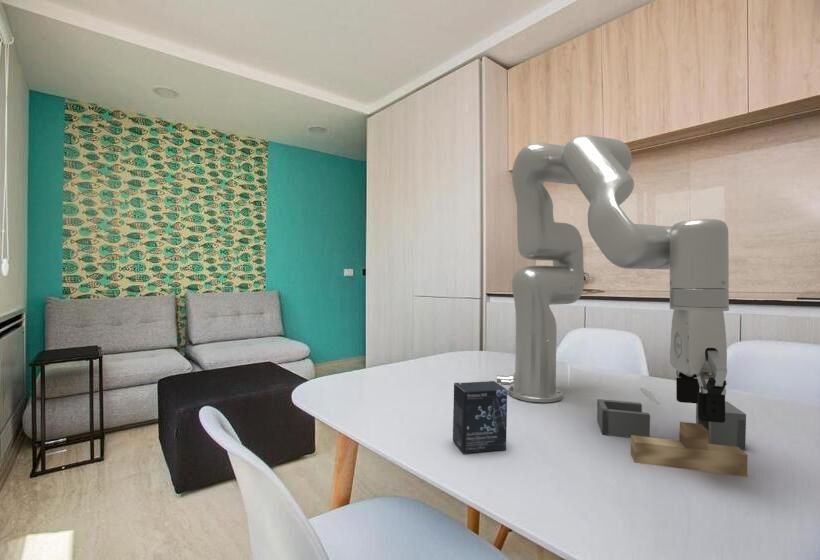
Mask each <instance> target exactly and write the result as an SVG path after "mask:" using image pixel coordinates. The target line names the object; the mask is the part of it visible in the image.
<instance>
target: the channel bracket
mask: <svg viewBox="0 0 820 560" xmlns="http://www.w3.org/2000/svg"><path fill="white" fill-rule="evenodd" d="M695 423H696V424H702V425H703V426H704V427H705V428H706V429H707V430H708V431H709V439H708V444H716V445H725V446H734V447H739V448H740V449H741V450H742V451H746V440H747V439H746V436H747V435H746V434H747V431H746V430H747V414H746V413H745V412H744V411H742V410H741V409H740V408H738V407H736V406H734V405H733V404H731V403H730V402H729V401H727V400H725V422H723V423H720V422H708V421H701V420H699V419H698V403H695Z"/></svg>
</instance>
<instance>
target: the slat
mask: <svg viewBox="0 0 820 560" xmlns="http://www.w3.org/2000/svg"><path fill="white" fill-rule="evenodd" d="M678 435H679V437H678V438H679V439H671V438H670V439H669V438H659V437H644V436H635V435H631V438H630V456H631V458H632V460H633V462H634V463H638V464H644V465H652V466H659V467H668V468H675V469H682V470H683V469H685V470H691V471H697V472H698V471H699V472H707V473H714V474H722V475H723V474H724V475H729V474H730V475H731V476H737V475H738V477H739V476H740V477H744V476H747V477H748V458H749V457H748V454H747V453H746V452H745V450H741V449H740V448H739V447H734V446H725V445H716V444H708V439H709V431H708V430H707V429H706V428H705V427H704V426H703V425H702V424H696V422H695V423H693V422H685V421H684V422H683V421H679V434H678Z"/></svg>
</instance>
